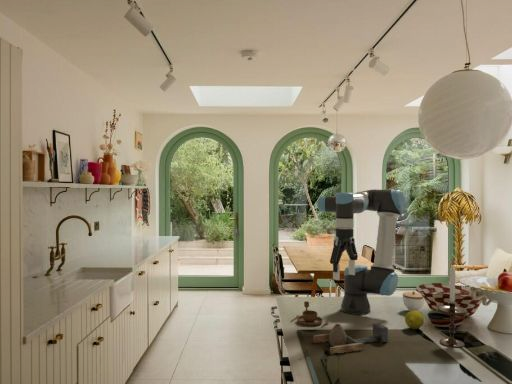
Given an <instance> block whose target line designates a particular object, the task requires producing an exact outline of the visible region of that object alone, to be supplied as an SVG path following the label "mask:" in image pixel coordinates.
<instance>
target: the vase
mask: <svg viewBox="0 0 512 384" xmlns="http://www.w3.org/2000/svg"><path fill="white" fill-rule="evenodd" d="M329 333H330V334H329V341H328V342H329V345H330V347H332V346H340V345H347V343H346V341H347V337H346V335H347V333H346V332H345V330H344V328H343V327H342V325H341V324H339V323H338V324H337V323H335V324H334V326H333V327H332V329H331V330H330V331H329Z"/></svg>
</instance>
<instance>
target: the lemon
mask: <svg viewBox="0 0 512 384" xmlns="http://www.w3.org/2000/svg"><path fill="white" fill-rule="evenodd" d="M404 321H405V324H406V326H407V327H408V328H409V329H413V330H416V329H417V330H418V329H420V328H422V327H423V325H424V323H425V322H424V321H425V319H424V315H423V314H422V313H421V312H420V311H416V310H412V311H411V310H409V311H408V312H406V315H405V316H404Z"/></svg>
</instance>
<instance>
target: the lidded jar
mask: <svg viewBox="0 0 512 384" xmlns="http://www.w3.org/2000/svg"><path fill="white" fill-rule="evenodd" d="M419 293H420V292H415V290H413V291H406V292H403V293H402V302H403V305H404V306H405V308H406V309H407V310H409V311H412V310H416V311H418V312H420V310H421V309H422V308H423V306H424V304H425V298H424V299H423V297H422V296H421V295H420V294H419Z"/></svg>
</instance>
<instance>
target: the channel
mask: <svg viewBox="0 0 512 384" xmlns="http://www.w3.org/2000/svg"><path fill="white" fill-rule="evenodd" d="M329 334H330V332H327V333H323V334H313V337H312V338H313V339H312V340H313V341H312V342H313V343H314V344H320V342H321V343H327V342H326V341H328V342H329ZM359 350H360V351H363V350H364V343H362V342H361V343H354V344H348V343H346V344H345V345H340V346H333V347H332V346H330V347H329V354H330V353H331V354H330V355H335V354H334V353H338V354H343V353H344V352H345V353H349V352H351V353H352V351H353V352H359Z"/></svg>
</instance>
